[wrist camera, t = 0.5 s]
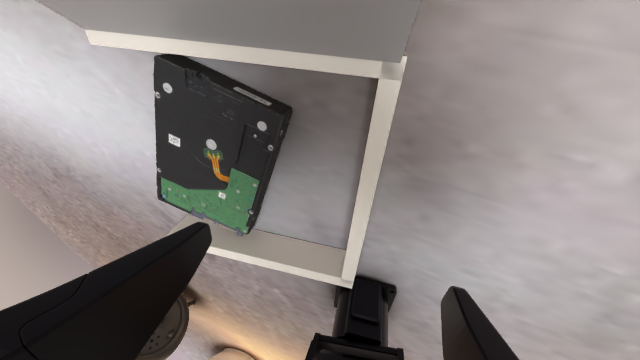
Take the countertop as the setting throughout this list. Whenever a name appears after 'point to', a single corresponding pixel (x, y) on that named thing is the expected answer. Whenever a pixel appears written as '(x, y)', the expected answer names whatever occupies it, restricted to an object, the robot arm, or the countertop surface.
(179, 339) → the alarm clock
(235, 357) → the lidded bowl
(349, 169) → the countertop surface
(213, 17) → the beige bent panel frame
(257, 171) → the disk drive
